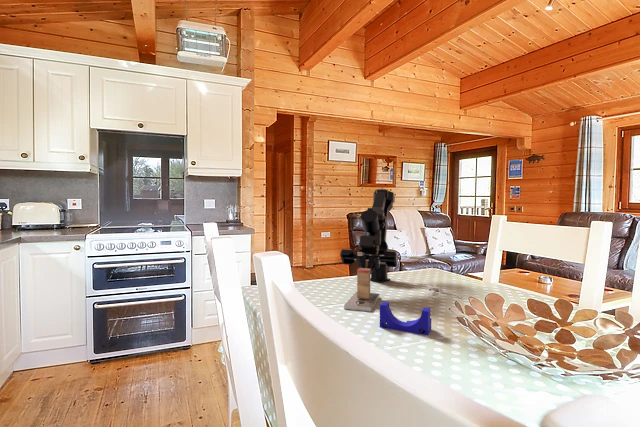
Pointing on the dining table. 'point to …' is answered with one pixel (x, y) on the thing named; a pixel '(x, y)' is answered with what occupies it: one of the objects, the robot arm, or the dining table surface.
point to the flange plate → (362, 302)
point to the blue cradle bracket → (413, 326)
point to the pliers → (436, 288)
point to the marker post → (363, 283)
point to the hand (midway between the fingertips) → (365, 279)
